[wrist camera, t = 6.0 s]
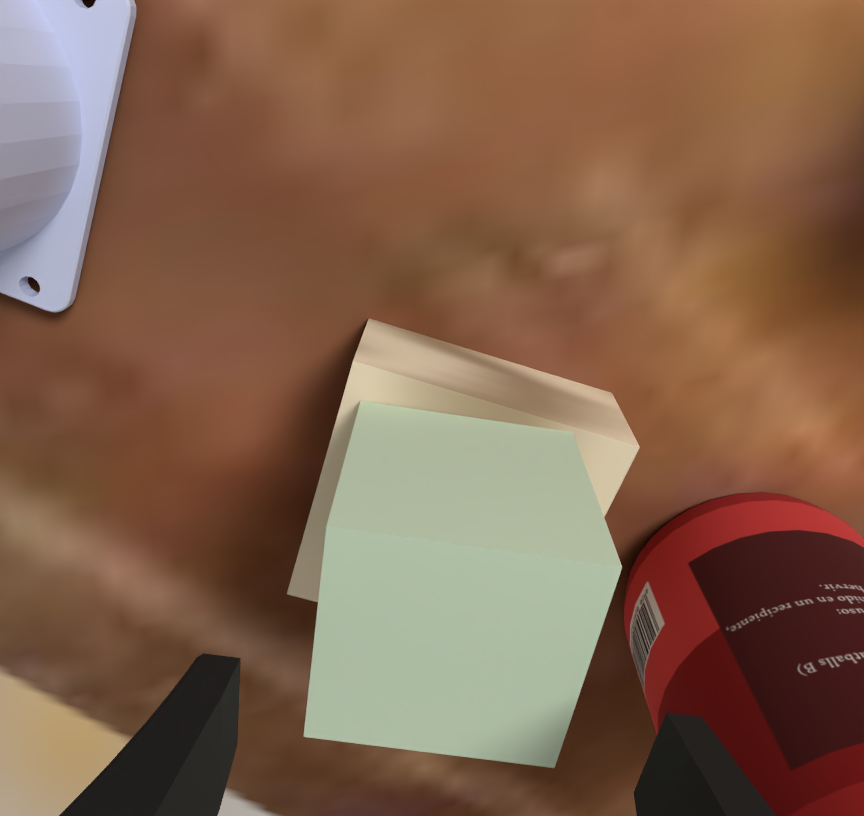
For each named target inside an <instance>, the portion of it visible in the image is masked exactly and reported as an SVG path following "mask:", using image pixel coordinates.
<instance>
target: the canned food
mask: <svg viewBox="0 0 864 816" xmlns="http://www.w3.org/2000/svg"><path fill="white" fill-rule="evenodd" d="M624 628H625V632H626V636H627V640H628V644H629V647H630V651H631V654H632V657H633V660H634V664H635V667H636V670H637V673H638V676H639V680H640V683H641V686H642V689H643V693H644V696H645V699H646V702H647V706H648V709H649V712H650V715H651V718H652V722H653V725H654V728H655V731H656V735H658V732H659V730H660V727H661V725H662V722H663V720H664V717H665V715H666V713H675V714H683V715H690V716H698V717H702V718H703V719H704V721H705V722H706V723H707V724H708V726H709V727H710V728H711V730H712V731H713V732H714V734H715V735H716V736H717V738H718V739H719V740H720V742H721V743H722V744H723V746H724V747H725V748H726V750H727V751H728V752H729V754H730V755H731V756H732V758H733V759H734V760H735V762H736V763H737V764H738V766H739V767H740V768H741V770H742V771H743V772H744V774H745V775H746V776H747V778H748V779H749V780H750V782H751V783H752V784H753V786H754V787H755V788H756V790H757V791H758V792H759V794H760V795H761V796H762V798H763V799H764V800H765V801H766V803H767V804H768V805H769V807H770V808H771V809H772V811H773V812H774V813H775V814H776V816H864V538H863V537H862V536H860V535H859V534H858V533H857V532H856V531H855V530H854V529H853V528H852V527H851V526H850V525H848V524H847V523H846V522H845V521H843V520H841V519H839V518H837V517H836V516H834V515H832V514H830V513H829V512H827V511H825V510H823V509H821V508H819V507H817V506H815V505H813V504H811V503H809V502H806V501H803V500H800V499H797V498H793V497H790V496H787V495H780V494H772V493H764V492H759V493H742V494H734V495H730V496H725V497H721V498H716V499H713V500H710V501H708V502H705V503H703V504H700V505H698V506H695V507H693V508H690V509H689V510H687V511H685V512H684V513H682V514H681V515H679V516H677V517H676V518H674V519H672V520H671V521H669V522H668V523H667V524H666V525H665V526H664V527H662V528H661V529H660V530H659V531H658V532H657V533H656V534H655V535H653V536H652V538H651V539H650V540H649V541H648V543H647V544H646V545H645V547H644V548H643V549H642V550H641V552H640V553H639V555H638V557H637V559H636V561H635V563H634V565H633V567H632V569H631V571H630V575H629V579H628V583H627V587H626V592H625V603H624Z"/></svg>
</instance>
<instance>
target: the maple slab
mask: <svg viewBox="0 0 864 816" xmlns="http://www.w3.org/2000/svg"><path fill="white" fill-rule="evenodd" d="M361 401H366V402H372V403H379V404H386V405H392V406H399V407H406V408H413V409H419V410H426V411H433V412H439V413H446V414H453V415H460V416H466V417H473V418H480V419H486V420H493V421H500V422H507V423H513V424H520V425H527V426H533V427H540V428H547V429H554V430H560V431H567V432H573V434H574V437H575V440H576V442H577V445H578V448H579V450H580V453H581V456H582V459H583V461H584V464H585V467H586V470H587V472H588V475H589V478H590V480H591V483H592V486H593V489H594V491H595V494H596V497H597V500H598V502H599V505H600V508H601V510H602V513H603V516H604V517H605V515H606V513H607V511H608V509H609V507H610V505H611V503H612V501H613V499H614V497H615V495H616V493H617V491H618V489H619V487H620V485H621V483H622V481H623V479H624V477H625V475H626V473H627V471H628V470H629V468H630V466H631V464H632V462H633V460H634V458H635V456H636V454H637V452H638V450H639V448H640V446H639V445H638V443H637V441H636V439H635V437H634V435H633V433H632V431H631V429H630V427H629V425H628V423H627V421H626V419H625V418H624V416H623V414H622V412H621V410H620V408H619V406H618V404H617V402H616V400H615V398H614V396H613V394H612V393H610V392H606V391H603V390H600V389H597V388H593V387H590V386H587V385H584V384H580V383H577V382H574V381H571V380H567V379H564V378H561V377H558V376H554V375H551V374H548V373H545V372H541V371H538V370H535V369H532V368H528V367H525V366H522V365H519V364H515V363H512V362H509V361H506V360H502V359H499V358H496V357H493V356H489V355H486V354H483V353H480V352H476V351H473V350H470V349H467V348H463V347H460V346H457V345H454V344H450V343H447V342H444V341H441V340H437V339H434V338H431V337H428V336H424V335H421V334H418V333H415V332H411V331H408V330H405V329H402V328H398V327H395V326H392V325H389V324H385V323H382V322H379V321H376V320H372V319H368V322H367V324H366V327H365V330H364V332H363V335H362V338H361V341H360V343H359V346H358V349H357V351H356V354H355V357H354V359H353V363H352V366H351V370H350V373H349V377H348V380H347V384H346V387H345V391H344V394H343V398H342V401H341V405H340V408H339V412H338V415H337V419H336V422H335V426H334V429H333V433H332V436H331V440H330V444H329V447H328V451H327V454H326V458H325V461H324V465H323V468H322V472H321V475H320V479H319V482H318V486H317V489H316V493H315V496H314V500H313V503H312V507H311V510H310V514H309V517H308V521H307V524H306V528H305V532H304V535H303V539H302V542H301V546H300V549H299V553H298V556H297V560H296V563H295V567H294V570H293V574H292V577H291V581H290V584H289V588H288V591H287V594H288V595H292V596H296V597H300V598H303V599H307V600H311V601H315V602H318V599H319V590H320V581H321V571H322V562H323V553H324V544H325V535H326V526H327V522H328V518H329V515H330V511H331V507H332V504H333V500H334V497H335V493H336V489H337V486H338V482H339V478H340V475H341V471H342V467H343V464H344V460H345V456H346V453H347V449H348V445H349V442H350V438H351V434H352V431H353V427H354V423H355V420H356V416H357V412H358V409H359V405H360V402H361Z"/></svg>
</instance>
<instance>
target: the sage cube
mask: <svg viewBox="0 0 864 816" xmlns="http://www.w3.org/2000/svg"><path fill="white" fill-rule="evenodd" d="M621 570H622V565H621V562H620V560H619V557H618V554H617V551H616V549H615V546H614V543H613V540H612V538H611V535H610V532H609V530H608V527H607V524H606V521H605V519H604V516H603V513H602V510H601V508H600V505H599V502H598V500H597V497H596V494H595V491H594V489H593V486H592V483H591V480H590V478H589V475H588V472H587V470H586V467H585V464H584V461H583V459H582V456H581V453H580V450H579V448H578V445H577V442H576V440H575V437H574V434H573V432H567V431H560V430H554V429H547V428H540V427H533V426H527V425H520V424H513V423H507V422H500V421H493V420H486V419H480V418H473V417H466V416H460V415H453V414H446V413H439V412H433V411H426V410H419V409H413V408H406V407H399V406H392V405H386V404H379V403H372V402H366V401H361V402H360V405H359V409H358V412H357V416H356V420H355V423H354V427H353V431H352V434H351V438H350V442H349V445H348V449H347V453H346V456H345V460H344V464H343V467H342V471H341V475H340V478H339V482H338V486H337V489H336V493H335V497H334V500H333V504H332V507H331V511H330V515H329V518H328V522H327V526H326V535H325V544H324V553H323V562H322V571H321V581H320V590H319V599H318V608H317V617H316V627H315V636H314V645H313V654H312V663H311V673H310V682H309V691H308V700H307V709H306V719H305V728H304V737H310V738H318V739H326V740H334V741H342V742H350V743H358V744H366V745H374V746H382V747H390V748H398V749H406V750H414V751H422V752H430V753H438V754H446V755H454V756H462V757H470V758H478V759H486V760H494V761H502V762H510V763H518V764H526V765H534V766H542V767H550V768H555V765H556V762H557V759H558V756H559V753H560V750H561V747H562V744H563V741H564V738H565V735H566V732H567V730H568V727H569V724H570V721H571V718H572V715H573V712H574V709H575V706H576V703H577V700H578V697H579V694H580V691H581V688H582V685H583V682H584V679H585V676H586V673H587V670H588V667H589V664H590V662H591V659H592V656H593V653H594V650H595V647H596V644H597V641H598V638H599V635H600V632H601V629H602V626H603V623H604V620H605V617H606V614H607V611H608V608H609V605H610V602H611V599H612V596H613V594H614V591H615V588H616V585H617V582H618V579H619V576H620V573H621Z"/></svg>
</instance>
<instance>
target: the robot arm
mask: <svg viewBox="0 0 864 816" xmlns="http://www.w3.org/2000/svg"><path fill="white" fill-rule="evenodd" d="M135 19H136V5H135V1H134V0H96V1H95V3H94V5H93V6H92V7H90V8H87V7H86V6H85V5H84V3H83V2H82V0H0V293H2V294H5V295H7V296H10V297H13V298H15V299H18V300H20V301H23V302H25V303H28V304H30V305H33V306H35V307H38V308H41V309H43V310H46V311H50V312H60V311H63V310H64V309H66V308H68V307H69V306H70V305H72V304H73V302H74V300H75V297H76V292H77V288H78V283H79V279H80V274H81V269H82V265H83V260H84V255H85V251H86V246H87V242H88V237H89V232H90V228H91V223H92V218H93V214H94V209H95V205H96V200H97V195H98V191H99V186H100V181H101V177H102V172H103V168H104V163H105V158H106V154H107V149H108V144H109V140H110V135H111V131H112V126H113V121H114V117H115V112H116V107H117V103H118V98H119V93H120V89H121V84H122V80H123V75H124V70H125V66H126V61H127V56H128V52H129V47H130V43H131V38H132V33H133V29H134V24H135ZM28 277H32V278H34V279H35V280H37V282H38V284H39V285H40V292H36V291H34V290H33V289H31V287H30V285H29V284H28ZM239 683H240V658H234V657H226V656H218V655H210V654H202V655H201V656H199V657H197V658H196V660H195V661H194V662H193V664H192V665H191V666H190V668H189V669H188V671H187V672H186V673H185V675H184V676H183V677H182V678H181V680H180V681H179V682H178V684H177V685H176V686H175V687H174V689H173V690H172V691H171V693H170V694H169V695H168V696H167V698H166V699H165V700H164V701H163V702H162V704H161V705H160V706H159V707H158V708H157V710H156V711H155V712H154V713H153V714H152V716H151V717H150V718H149V719H148V721H147V722H146V723H145V724H144V725H143V726H142V728H141V729H140V730H139V731H138V732H137V733H136V734H135V735H134V737H133V738H132V739H131V740H130V741H129V742H128V743H127V744H126V746H125V747H124V748H123V749H122V750H121V751H120V752H119V753H118V755H117V756H116V757H115V758H114V759H113V760H112V761H111V762H110V764H109V765H108V766H107V767H106V768H105V769H104V770H103V771H102V772H101V773H100V774H99V775H98V776H97V777H96V778H95V780H93V782H92V783H91V784H90V785H89V786H88V787H87V788H86V789H85V790H84V791H83V792H82V793H81V794H80V795H79V796H78V797H77V798H76V799H75V800H74V801H73V802H72V803H71V804H70V805H69V806H68V807H67V808H66V809H65V811H63V812H62V814H60V815H59V816H217V815H218V812H219V809H220V806H221V802H222V798H223V795H224V791H225V788H226V784H227V780H228V777H229V773H230V769H231V766H232V762H233V758H234V754H235V751H236V747H237V736H238V710H239ZM634 798H635V805H636V812H637V816H776V814H775V813H774V812H773V811H772V809H771V808H770V807H769V805H768V804H767V803H766V801H765V800H764V799H763V798H762V796H761V795H760V794H759V792H758V791H757V790H756V788H755V787H754V786H753V784H752V783H751V782H750V780H749V779H748V778H747V776H746V775H745V774H744V772H743V771H742V770H741V768H740V767H739V766H738V764H737V763H736V762H735V760H734V759H733V758H732V756H731V755H730V754H729V752H728V751H727V750H726V748H725V747H724V746H723V744H722V743H721V742H720V740H719V739H718V738H717V736H716V735H715V734H714V732H713V731H712V730H711V728H710V727H709V726H708V724H707V723H706V722H705V721H704V719H703V718H702V717H698V716H690V715H683V714H675V713H666V715H665V717H664V720H663V722H662V725H661V727H660V730H659V732H658V735H657V737H656V739H655V742H654V744H653V747H652V749H651V752H650V754H649V757H648V759H647V762H646V764H645V766H644V769H643V771H642V774H641V776H640V779H639V781H638V784H637V786H636V788H635V791H634Z"/></svg>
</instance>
